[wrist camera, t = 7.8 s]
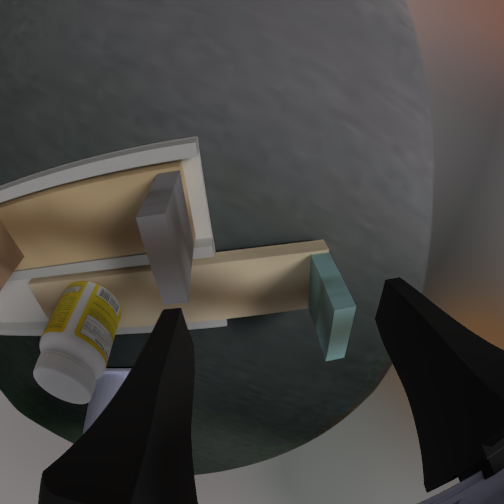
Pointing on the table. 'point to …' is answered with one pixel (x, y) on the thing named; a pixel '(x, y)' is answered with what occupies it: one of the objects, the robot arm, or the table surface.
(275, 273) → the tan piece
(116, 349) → the table surface
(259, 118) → the table surface
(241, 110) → the table surface
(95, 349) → the supplement bottle
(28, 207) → the gray handled wooden slider
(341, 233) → the table surface
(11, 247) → the walnut cube
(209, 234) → the lane board
